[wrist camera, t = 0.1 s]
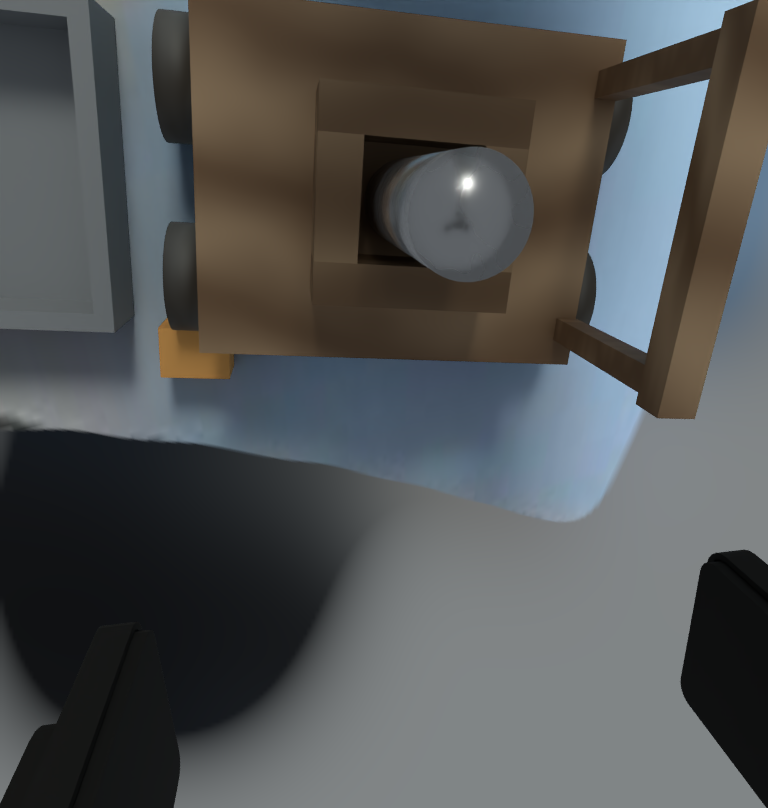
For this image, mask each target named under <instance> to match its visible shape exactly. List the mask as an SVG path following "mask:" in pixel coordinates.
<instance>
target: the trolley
mask: <svg viewBox="0 0 768 808" xmlns="http://www.w3.org/2000/svg"><path fill="white" fill-rule="evenodd" d="M188 10H189V12H181V11H173V10H164V9H158V10H157V11H156V14H155V17H154V23H153V32H152V72H153V85H154V95H155V103H156V109H157V115H158V120H159V124H160V128H161V132H162V134H163V137H164V139H165V140H166V142H168V143H180V144H192V145H193V168H194V199H195V223H188V222H170V223H169V225H168V227H167V231H166V236H165V242H164V253H163V289H164V301H165V308H166V314H167V318H168V322H169V325H170V327H171V329H172V330H185V331H199V353H221V354H253V355H284V356H315V357H346V358H377V359H409V360H440V361H471V362H502V363H534V364H565V365H567V364H568V358H569V353H570V350H571V351H572V352H574V353H575V354H577V355H579V356H580V357H582V358H583V359H585V360H587V361H588V362H590V363H592V364H593V365H595V366H596V367H598V368H600V369H601V370H603V371H604V372H606V373H608V374H609V375H611V376H612V377H614V378H616V379H617V380H619V381H621V382H622V383H624V384H625V385H627V386H629V387H630V388H632V389H633V390H635V391H637V392H638V396H637V401H636V405H638V406H639V407H641V408H643V409H644V410H646V411H647V412H649V413H650V414H652V415H653V416H655V417H656V418H670V419H671V418H672V419H673V418H674V419H695V416H696V412H697V408H698V404H699V401H700V397H701V393H702V390H703V386H704V382H705V378H706V375H707V371H708V367H709V363H710V359H711V356H712V352H713V348H714V344H715V341H716V337H717V333H718V329H719V325H720V322H721V318H722V314H723V310H724V306H725V303H726V299H727V295H728V292H729V288H730V284H731V280H732V276H733V273H734V269H735V265H736V261H737V258H738V254H739V250H740V246H741V242H742V239H743V234H744V231H745V227H746V224H747V219H748V216H749V212H750V208H751V204H752V201H753V197H754V193H755V189H756V186H757V182H758V178H759V175H760V171H761V167H762V163H763V159H764V155H765V152H766V148H767V144H768V0H754V1H751V2H748V3H746V4H743V5H741V6H738V7H735V8H733V9H730V10H728V11H725V14H724V18H723V22H722V27H721V28H720V29H717V30H714V31H711V32H708V33H706V34H703V35H700V36H697V37H694V38H691V39H688V40H686V41H683V42H680V43H677V44H674V45H671V46H668V47H666V48H663V49H660V50H657V51H654V52H651V53H648V54H646V55H643V56H640V57H637V58H634V59H631V60H628V61H626V62H623V57H624V51H625V46H626V40H623V39H615V38H607V37H599V36H591V35H583V34H574V33H566V32H558V31H550V30H542V29H534V28H526V27H518V26H509V25H501V24H493V23H485V22H477V21H469V20H461V19H453V18H444V17H436V16H428V15H420V14H412V13H404V12H396V11H388V10H379V9H371V8H363V7H355V6H347V5H339V4H331V3H323V2H315V1H306V0H188ZM622 62H623V63H622ZM708 79H710V80H709V84H708V88H707V93H706V97H705V102H704V106H703V110H702V115H701V119H700V124H699V128H698V132H697V137H696V141H695V146H694V150H693V154H692V159H691V163H690V168H689V172H688V176H687V181H686V185H685V190H684V194H683V198H682V203H681V207H680V211H679V216H678V220H677V225H676V229H675V233H674V238H673V242H672V247H671V251H670V255H669V260H668V264H667V269H666V273H665V277H664V282H663V286H662V291H661V295H660V299H659V304H658V308H657V313H656V317H655V321H654V326H653V330H652V335H651V339H650V343H649V348H648V352H647V353H645V352H643V351H641V350H639V349H637V348H635V347H633V346H631V345H629V344H627V343H625V342H623V341H621V340H619V339H617V338H614V337H612V336H610V335H608V334H606V333H604V332H602V331H600V330H598V329H596V328H594V327H592V326H590V325H589V323H590V320H591V317H592V314H593V310H594V305H595V298H596V275H595V269H594V265H593V261H592V259H591V257H590V255H589V254H588V249H589V243H590V238H591V232H592V227H593V221H594V216H595V210H596V205H597V199H598V194H599V188H600V183H601V177H602V174H604V173H605V172H606V171H607V170H608V169H609V168H610V166H611V165H612V163H613V162H614V160H615V159H616V157H617V155H618V153H619V151H620V149H621V147H622V144H623V142H624V139H625V136H626V133H627V130H628V126H629V122H630V117H631V111H632V102H633V97H636V96H640V95H645V94H649V93H653V92H657V91H662V90H666V89H670V88H674V87H678V86H683V85H687V84H691V83H695V82H700V81H704V80H708ZM464 147H484V148H489V149H492V150H496V151H498V152H500V153H502V154H504V155H505V156H507V157H508V158H510V159H511V160H512V161H513V162H514V163H515V164H516V165H517V166H518V167H519V168H520V170H521V171H522V172H523V174H524V176H525V177H526V179H527V181H528V183H529V186H530V189H531V192H532V196H533V203H534V217H533V224H532V229H531V232H530V235H529V238H528V240H527V242H526V245H525V247H524V248H523V250H522V251H521V253H520V254H519V256H518V257H517V258H516V259H515V260H514V261H513V262H512V263H511V264H510V265H509V266H508V267H507V268H506V269H504V270H503V271H502V272H500V273H498V274H497V275H495V276H492V277H490V278H488V279H485V280H481V281H475V282H459V281H454V280H450V279H447V278H445V277H442V276H440V275H439V274H437V273H435V272H434V271H432V270H431V269H429V268H428V267H426V266H425V265H423V264H422V263H420V262H419V261H417V260H416V259H414V258H413V257H411V256H409V255H408V254H406V253H405V252H403V251H402V250H400V249H399V248H397V247H396V246H394V245H393V244H391V243H390V242H388V241H387V240H385V239H384V238H382V237H381V236H380V235H379V234H377V232H376V231H375V230H374V229H373V228H372V226H371V225H370V223H369V221H368V218H367V216H366V212H365V206H364V199H365V192H366V188H367V186H368V183H369V181H370V179H371V178H372V176H373V175H374V173H375V172H376V171H377V170H378V169H379V168H381V167H382V166H383V165H385V164H386V163H388V162H391V161H393V160H397V159H402V158H408V157H413V156H419V155H425V154H430V153H436V152H441V151H447V150H453V149H458V148H464Z"/></svg>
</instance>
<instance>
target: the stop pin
mask: <svg viewBox="0 0 768 808" xmlns="http://www.w3.org/2000/svg"><path fill="white" fill-rule="evenodd" d="M364 206H365V212H366V216H367V218H368V221H369V223H370V225H371V226H372V228H373V229H374V230H375V231H376V232H377V234H379V235H380V236H381V237H382V238H384V239H385V240H387V241H388V242H390V243H391V244H393V245H394V246H396V247H397V248H399V249H400V250H402V251H403V252H405V253H406V254H408V255H409V256H411V257H413V258H414V259H416V260H417V261H419V262H420V263H422V264H423V265H425V266H426V267H428V268H429V269H431V270H432V271H434V272H435V273H437V274H439V275H440V276H442V277H445V278H447V279H450V280H454V281H459V282H475V281H481V280H485V279H488V278H490V277H492V276H495V275H497V274H498V273H500V272H502V271H503V270H504V269H506V268H507V267H508V266H509V265H510V264H511V263H512V262H513V261H514V260H515V259H516V258H517V257H518V256H519V254H520V253H521V251H522V250H523V248H524V247H525V245H526V242H527V240H528V238H529V235H530V232H531V229H532V224H533V217H534V203H533V196H532V192H531V189H530V186H529V183H528V181H527V179H526V177H525V176H524V174H523V172H522V171H521V170H520V168H519V167H518V166H517V165H516V164H515V163H514V162H513V161H512V160H511V159H510V158H508V157H507V156H505V155H504V154H502V153H500V152H498V151H496V150H492V149H489V148H484V147H464V148H458V149H453V150H447V151H441V152H436V153H430V154H425V155H419V156H413V157H408V158H402V159H397V160H393V161H391V162H388V163H386V164H385V165H383V166H382V167H381V168H379V169H378V170H377V171H376V172H375V173H374V175H373V176H372V178H371V179H370V181H369V183H368V186H367V188H366V192H365V199H364Z"/></svg>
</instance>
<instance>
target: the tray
mask: <svg viewBox="0 0 768 808" xmlns="http://www.w3.org/2000/svg"><path fill="white" fill-rule="evenodd" d="M133 316H134V303H133V288H132V274H131V259H130V244H129V229H128V215H127V200H126V185H125V170H124V156H123V141H122V126H121V111H120V97H119V82H118V67H117V52H116V38H115V23H114V18H113V17H112V16H111V15H110V14H109V13H108V12H107V11H106V10H105V9H103V8H102V7H101V6H100V5H99V4H98V3H97V2H96V1H94V0H0V329H23V330H51V331H78V332H106V333H115V332H116V331H117V330H118V329H120V328H121V327H122V326H123V325H124V324H125V323H126V322H128V321H129V320H130V319H131V318H132V317H133Z"/></svg>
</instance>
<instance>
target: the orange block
mask: <svg viewBox="0 0 768 808" xmlns="http://www.w3.org/2000/svg"><path fill="white" fill-rule="evenodd" d="M158 335H159V354H160V372H161V377H168V378H207V379H230V376H231V373H232V370H233V367H234V354H221V353H199V331H185V330H172V329H171V327H170V325H169V322H168V318H167V319H166V320H165V321H164V322H163V323H162V324H161V325H160V326H159V328H158Z"/></svg>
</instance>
